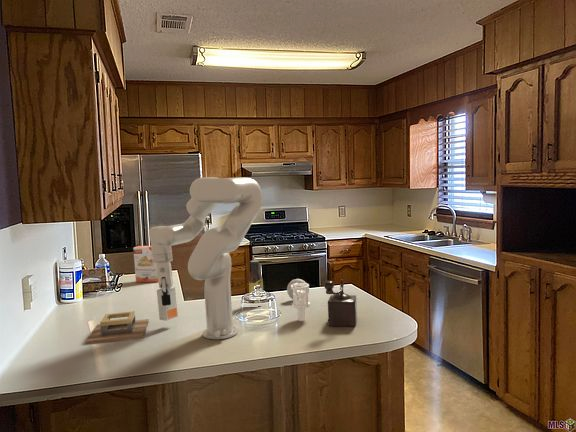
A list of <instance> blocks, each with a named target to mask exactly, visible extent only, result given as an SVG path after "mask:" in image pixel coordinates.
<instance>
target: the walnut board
mask: <svg viewBox="0 0 576 432" xmlns="http://www.w3.org/2000/svg"><path fill="white" fill-rule="evenodd" d="M135 320H136V324H135V327H134V329H133V331H132V332H129V333H119V334H110V335H101V326H100V323H99V324H97V325H95V327H94V328H93V330H92V332H91V333H90V334H89V336H88V337H87V339H86V340H85V344H86V345H91V343H92V344H99V343H108V342H118V341H124V340H134V339H142V338H144V337H145V334H146V331H147V329H148V326H149V323H150V320H149V318H147V319H135ZM119 328H128V327H127V326H118V327H110V328H109V329H119Z"/></svg>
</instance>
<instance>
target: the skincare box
mask: <svg viewBox="0 0 576 432" xmlns="http://www.w3.org/2000/svg"><path fill="white" fill-rule="evenodd" d="M169 294H170V299H171V305H166V306H163V305H162V298H161V295H162V293H161V288H159V289H157V290H156V295H157V305H158V306H157V308H158V318H159V320H160V321H169V320H172V319H174V318H178V303H177V302H178V301H177V296H176V295H177V294H176V287H175V286H172V287H169Z"/></svg>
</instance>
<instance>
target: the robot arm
mask: <svg viewBox="0 0 576 432" xmlns="http://www.w3.org/2000/svg"><path fill="white" fill-rule="evenodd" d="M262 192H263V191H262V189H261V186H260V184H259V183H258V182H257V181H256V180H255V179H253V178H250V177H246V176H245V177H240V176H239V177H225V178H224V177H220V178H219V177H218V176H217V177H216V176H211V177H207V176H205V177H198V178H196V179H195V180H194V181H192V183H191V184H190V187H189V195H190V197H191V198H190V199H189V200H188V201H187V202H186V206H185V207H186V211H187V212H188V214H189V217H188V218H187V219H186V220H185V221H184V222H183V223H178V224H177V223H176V224H173V225H168V226H167V225H158V226H153V227H150V229H149V240H150V246H151V249H152V259H153V263H156V267H157V276H158V282H157V283H158V287H159V289H161V293H162V295H161V298H162V305H163V306H166V305H171V299H170V294H169V287H174V278H173V271H172V263H171V262H173V260H174V259H173V257H174V256H173V251H172V246H173V247H174V246H175V245H176V246H177V245H181V244H184V243H189V242H192V240H194V239H195V238H196V237H197V236H198V234H200V232H202V230H203V228H204V226H205V224H206V218H207V216H208V215H209V214H210V213H211V212H212V210H214V209H215V207H217V206H218V204H224V205H226V204H236V203H237V204H236V206H234V207H233V208H232V210H230V212H229V213H228V215H227V217H226V219H225V220H224V222H223V224H222V225H220V226H217V227H213V228H212V227H211V228H210V229H208V230H206V231H205V232H204V233H202V235H201V237H200V238H199V240H198V242H197V244H196V246H195V247H194V249H193V251H192V252H191V254H190V256H189V259H188V260H187V261H188V263H187V271H188V274H189V276H191V278H193V279H194V280H196V281H203V280H204V287H203V289H204V306H205V320H206V329H205V330H204V331H203V332H202V337H204V338H206V340H207V339H208V340H223V339H224V340H225V339H229V338H232V337H234V336H235V335H237V334H238V328H237V327H235V326H234V321H233V320H234V319H233V306H232V304H233V303H232V291H231V289H232V288H231V273H232V272H231V271H232V257H231V255H230V253H231V252H234V251H236V250H237V249H238V248H239V247H240V245H241V243H242V242H243V239H244V238H245V236H246V234H247V233H248V231H249V230H250V227H251V226H252V223H253V222H254V221H255V219H256V218H257V216H258V215H259V212H260V210H261V207H262V204H263V193H262Z"/></svg>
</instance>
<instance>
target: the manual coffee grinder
mask: <svg viewBox="0 0 576 432" xmlns="http://www.w3.org/2000/svg"><path fill="white" fill-rule="evenodd" d="M339 281H340V284H339V286H340V288H339V291H334V290H333V289H334V288H335V283H334V281H332V280H326V281H324V283H323V287H324V289H325V290H326V291H325V293H326V295H330V296H329V298H328V300H327V312H328V313H327V315H328V318H327V322H328V324H327V326H328V327H336V328H354V327H355V328H356V326H357V324H358V311H357V308H358V307H357V295H354V294H351V295H350V294H348V293H345V292H344V286H345V285H344V280H343V279H340V280H339Z"/></svg>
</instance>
